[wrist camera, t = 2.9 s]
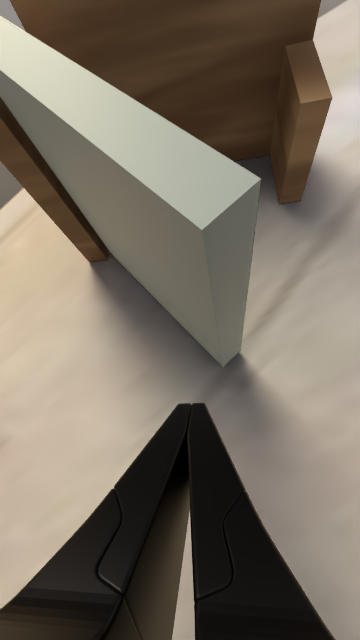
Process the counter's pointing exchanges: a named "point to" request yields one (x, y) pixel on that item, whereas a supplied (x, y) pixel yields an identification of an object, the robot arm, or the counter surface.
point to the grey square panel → (141, 188)
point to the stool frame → (186, 84)
